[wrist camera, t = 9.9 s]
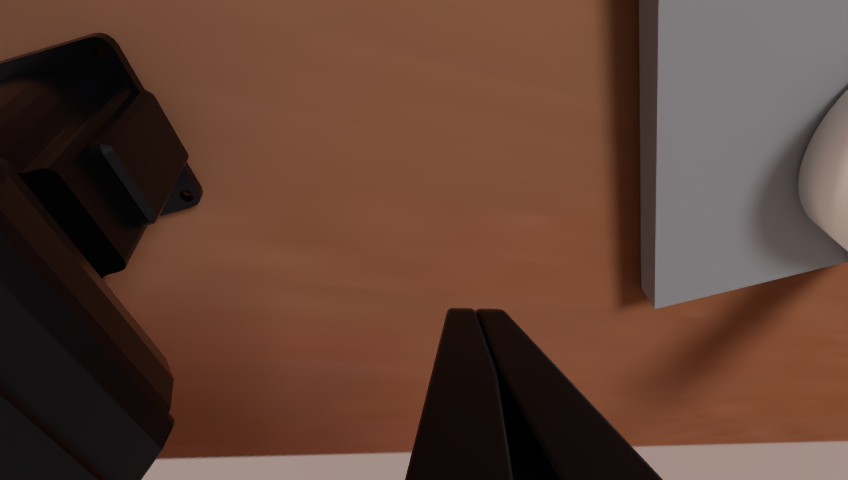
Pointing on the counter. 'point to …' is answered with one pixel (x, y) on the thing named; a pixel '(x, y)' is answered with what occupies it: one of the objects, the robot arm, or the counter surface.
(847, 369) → the counter surface
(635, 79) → the counter surface
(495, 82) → the counter surface
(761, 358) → the counter surface
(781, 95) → the stand
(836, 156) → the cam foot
